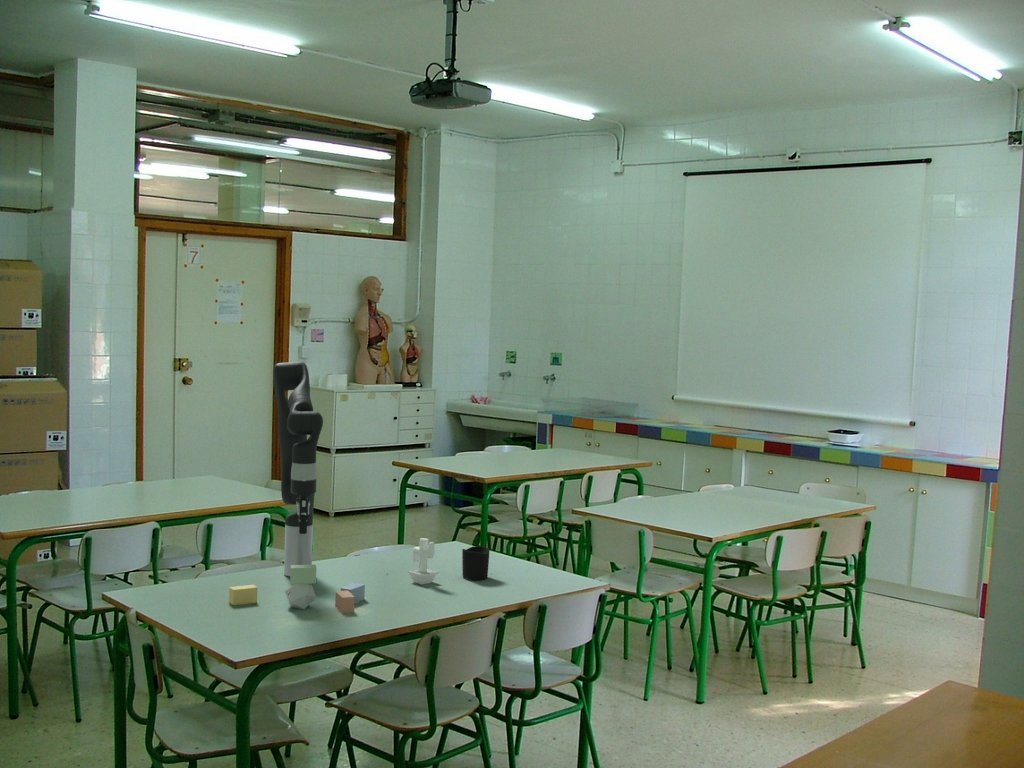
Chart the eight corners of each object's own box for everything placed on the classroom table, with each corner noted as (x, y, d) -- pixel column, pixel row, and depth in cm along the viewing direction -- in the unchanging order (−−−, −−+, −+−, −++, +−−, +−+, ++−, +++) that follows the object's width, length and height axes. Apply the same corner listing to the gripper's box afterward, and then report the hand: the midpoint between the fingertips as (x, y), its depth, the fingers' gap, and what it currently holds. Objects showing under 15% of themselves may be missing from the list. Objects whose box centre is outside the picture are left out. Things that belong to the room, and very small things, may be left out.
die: (289, 604, 308) (277, 583, 302) (314, 589, 310) (302, 568, 305) (298, 620, 301) (286, 599, 296) (323, 605, 304) (312, 584, 298)
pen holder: (490, 581, 343) (491, 552, 343) (462, 581, 342) (463, 552, 341) (486, 574, 352) (487, 546, 352) (460, 574, 351) (461, 546, 351)
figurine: (421, 578, 344) (423, 534, 343) (439, 583, 337) (441, 539, 336) (405, 581, 339) (406, 537, 338) (423, 586, 332) (424, 542, 331)
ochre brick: (229, 602, 306) (229, 587, 305) (253, 599, 310) (253, 584, 310) (232, 605, 303) (233, 590, 302) (257, 602, 307) (257, 587, 306)
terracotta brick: (341, 613, 298) (342, 597, 298) (335, 607, 305) (335, 591, 305) (354, 612, 300) (354, 596, 300) (347, 606, 307) (347, 590, 306)
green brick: (290, 580, 304) (290, 565, 304) (315, 580, 306) (315, 564, 306) (290, 583, 300) (290, 568, 300) (315, 583, 302) (316, 567, 302)
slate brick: (340, 603, 309) (340, 587, 309) (354, 598, 316) (354, 583, 316) (350, 605, 308) (350, 589, 307) (364, 599, 314) (364, 584, 314)
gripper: (290, 473, 307) (289, 526, 308) (291, 481, 293) (290, 535, 294) (315, 473, 309) (314, 525, 310) (317, 481, 295) (316, 535, 296)
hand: (302, 530), depth 302 cm, fingers open, 8 cm apart
